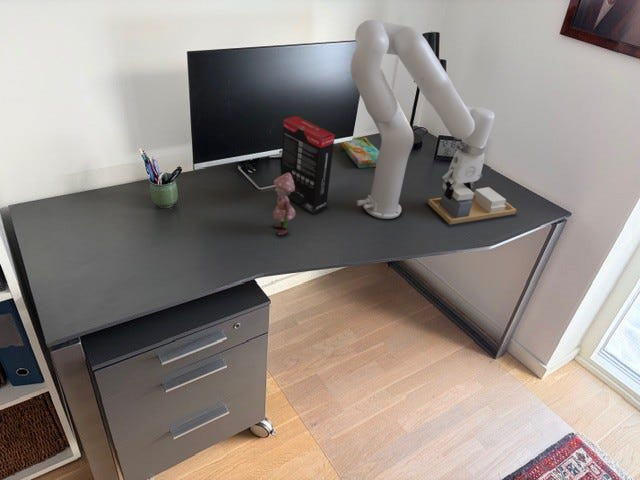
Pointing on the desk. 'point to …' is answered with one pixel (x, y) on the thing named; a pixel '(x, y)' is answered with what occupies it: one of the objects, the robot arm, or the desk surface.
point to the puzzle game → (361, 152)
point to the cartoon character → (284, 201)
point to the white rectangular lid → (461, 191)
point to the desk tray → (475, 213)
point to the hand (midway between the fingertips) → (456, 196)
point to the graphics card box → (307, 162)
